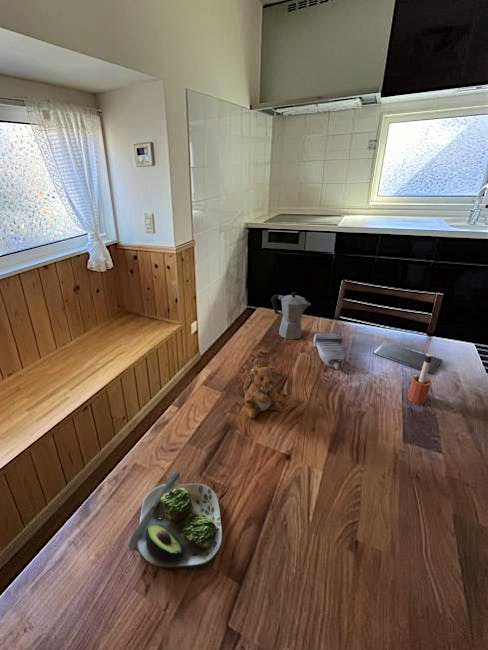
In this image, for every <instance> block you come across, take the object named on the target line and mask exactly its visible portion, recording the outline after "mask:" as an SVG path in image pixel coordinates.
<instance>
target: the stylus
mask: <svg viewBox="0 0 488 650" xmlns="http://www.w3.org/2000/svg"><path fill="white" fill-rule="evenodd" d="M425 354H426V357H425V360H424V364H423V367H422V371H420V374H419V376H420V378H419V381H418V382H419V383H421V384H424V383H425V379H426V378H427V376H428V369H429V366H430V363H431V360H432V356H433V357H434V355H433V354H432V353H430V352H429V353H428V352H427V353H425Z"/></svg>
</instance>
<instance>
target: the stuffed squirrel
mask: <svg viewBox="0 0 488 650" xmlns="http://www.w3.org/2000/svg"><path fill="white" fill-rule="evenodd" d="M274 368H275V367H274V365H270V366H269V367H267V366H264V365H262V364H260V363H259V364H255V365H254V366H253V367H252V369H251V370H250V371H249V373H248V375H247V377H246V378H245V381H244V382H243V392H244V407H245V412H246V414H247V415H248V417H249V418H250V419H255V418H256V417H257V416H258V414H259V413H260V412H264V411H266V410H267V409H268V410H270V411H279V412H280V411H281V410H282V406H281V405H280V404H279V399H280V397H279V394H278V392H277V391H276V389H275V387H273V386H274V385H276V386H278V385H280V383H279V382H278V381H275V380H274V377H273V372H272V371H273V370H274Z"/></svg>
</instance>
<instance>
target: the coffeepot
mask: <svg viewBox="0 0 488 650" xmlns="http://www.w3.org/2000/svg"><path fill="white" fill-rule="evenodd" d="M296 294H297V293H296V292H294V291H293V292H292V291H291V294H287V295H282V294H281V295H280V294H274V295H273V296H272V297H270V301H271V304H272V307H273V312H274V313H275V314H276V315H280V314H282V318H281V323H280V326H279V330H278V335H279V336H280V337H282V338H283V337H284V339H286V340H298V339H300V338H302V337H303V335H302V322H301V318H302V317H303V314H304V311H305V310H306V309H307V308H308V307H309V306H310V307H311V302H309V301H308V300H306V298H305V297H302V296H300V295H296ZM277 300H278V301H280V302H281V311H282V313H281V311H278V306H277Z"/></svg>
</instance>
